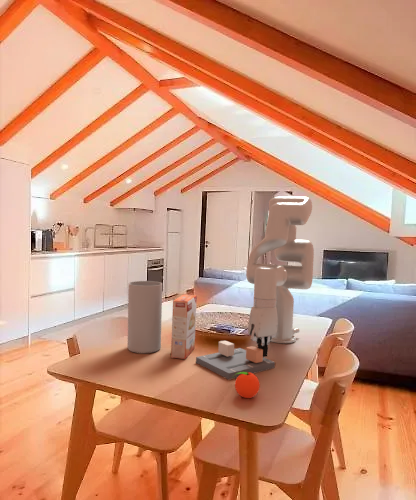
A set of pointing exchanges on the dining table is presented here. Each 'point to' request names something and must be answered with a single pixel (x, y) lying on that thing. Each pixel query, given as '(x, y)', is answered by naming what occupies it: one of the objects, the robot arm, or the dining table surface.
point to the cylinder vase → (144, 316)
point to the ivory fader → (226, 348)
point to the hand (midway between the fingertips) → (262, 355)
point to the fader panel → (233, 364)
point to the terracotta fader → (254, 354)
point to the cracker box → (183, 326)
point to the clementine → (247, 384)
